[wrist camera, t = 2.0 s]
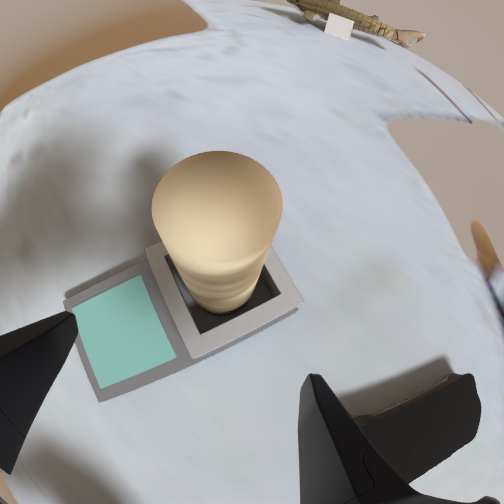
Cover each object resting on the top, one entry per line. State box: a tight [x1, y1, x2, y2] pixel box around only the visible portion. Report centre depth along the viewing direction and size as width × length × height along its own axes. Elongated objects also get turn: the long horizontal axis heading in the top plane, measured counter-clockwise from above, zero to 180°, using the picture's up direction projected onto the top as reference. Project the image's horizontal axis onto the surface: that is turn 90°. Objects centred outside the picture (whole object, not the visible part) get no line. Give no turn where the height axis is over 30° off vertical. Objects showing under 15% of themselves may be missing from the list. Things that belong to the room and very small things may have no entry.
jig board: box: [63, 241, 304, 402], centre depth 19 cm, size 18×9×4 cm, turn 118°
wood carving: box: [287, 0, 425, 48], centre depth 42 cm, size 9×35×11 cm, turn 66°
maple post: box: [152, 151, 283, 316], centre depth 16 cm, size 5×5×12 cm
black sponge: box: [353, 373, 481, 484], centre depth 17 cm, size 16×8×4 cm, turn 98°
